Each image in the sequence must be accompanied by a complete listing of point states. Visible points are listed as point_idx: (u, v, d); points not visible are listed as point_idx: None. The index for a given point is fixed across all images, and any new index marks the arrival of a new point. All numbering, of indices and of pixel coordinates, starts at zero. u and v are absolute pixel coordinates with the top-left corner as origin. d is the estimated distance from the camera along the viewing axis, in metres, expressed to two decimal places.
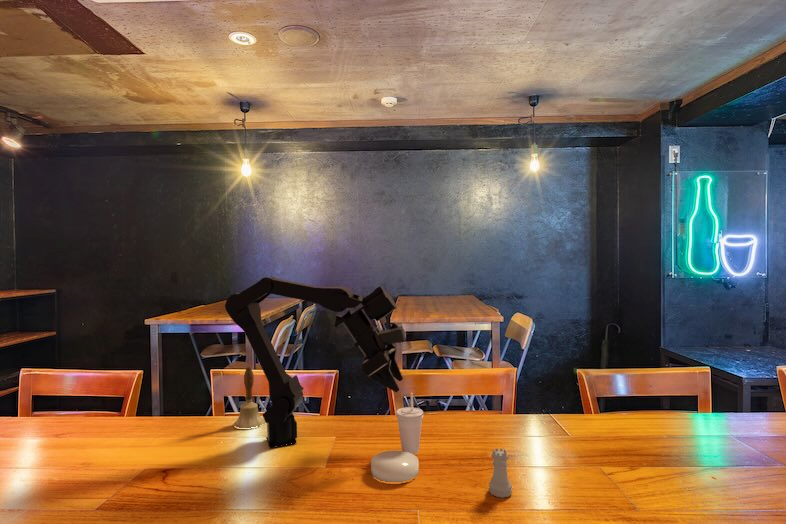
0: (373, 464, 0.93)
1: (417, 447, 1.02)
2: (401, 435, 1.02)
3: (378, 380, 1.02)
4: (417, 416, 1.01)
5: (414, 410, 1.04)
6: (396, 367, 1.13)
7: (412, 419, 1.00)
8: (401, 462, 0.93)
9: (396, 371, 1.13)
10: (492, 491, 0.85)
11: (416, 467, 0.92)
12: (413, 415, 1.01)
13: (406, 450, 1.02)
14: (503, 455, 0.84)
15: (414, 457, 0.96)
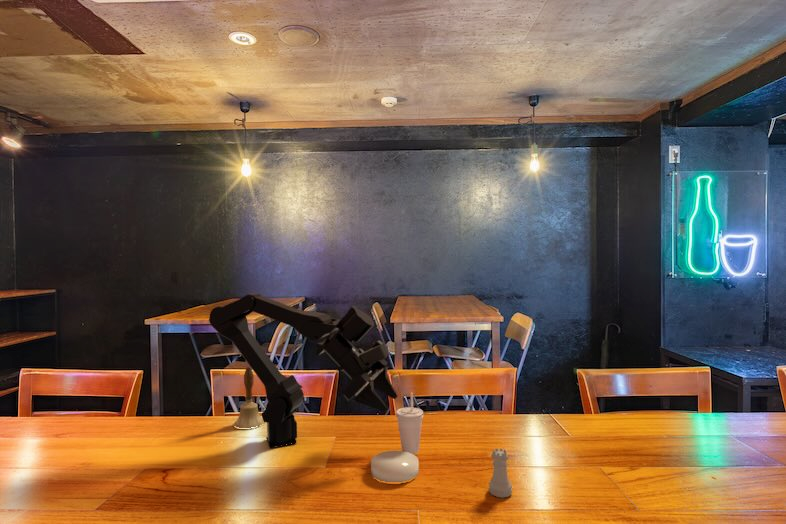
0: (373, 464, 0.93)
1: (417, 447, 1.02)
2: (401, 435, 1.02)
3: (363, 402, 1.00)
4: (417, 416, 1.01)
5: (414, 410, 1.04)
6: (388, 385, 1.09)
7: (412, 419, 1.00)
8: (401, 462, 0.93)
9: (389, 389, 1.09)
10: (492, 491, 0.85)
11: (416, 467, 0.92)
12: (413, 415, 1.01)
13: (406, 450, 1.02)
14: (503, 455, 0.84)
15: (414, 457, 0.96)
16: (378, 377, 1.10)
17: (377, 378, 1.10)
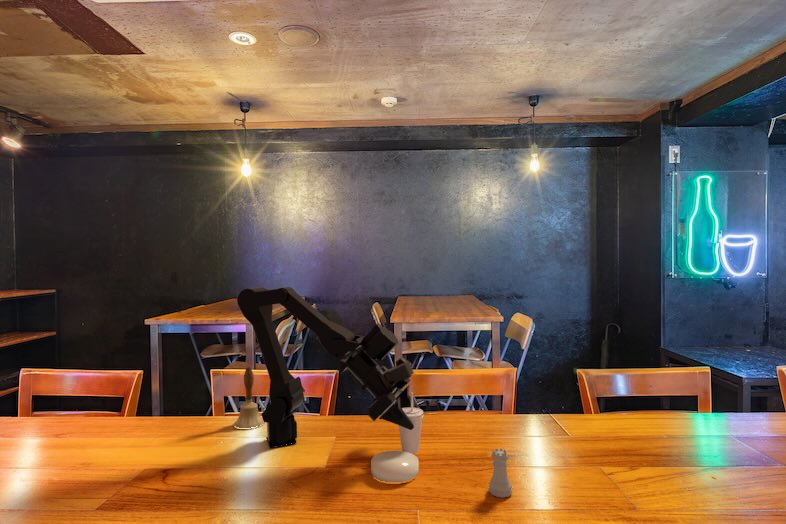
0: (373, 464, 0.93)
1: (417, 447, 1.02)
2: (401, 435, 1.02)
3: (390, 420, 0.99)
4: (417, 416, 1.01)
5: (414, 410, 1.04)
6: None
7: (412, 419, 1.00)
8: (401, 462, 0.93)
9: None
10: (492, 491, 0.85)
11: (416, 467, 0.92)
12: (413, 415, 1.01)
13: (406, 450, 1.02)
14: (503, 455, 0.84)
15: (414, 457, 0.96)
16: (399, 396, 1.08)
17: (399, 397, 1.08)
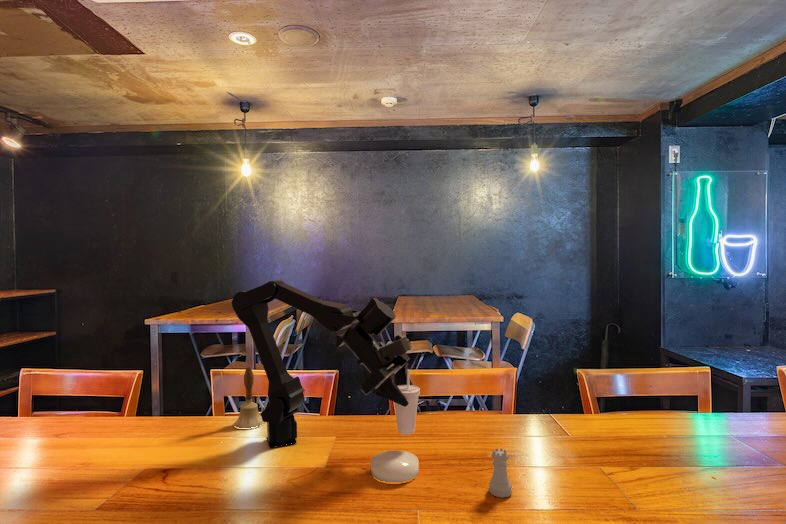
0: (373, 464, 0.93)
1: (413, 425, 0.99)
2: (396, 412, 1.00)
3: (384, 396, 0.97)
4: (412, 393, 0.98)
5: (410, 387, 1.01)
6: None
7: (407, 396, 0.97)
8: (401, 462, 0.93)
9: None
10: (492, 491, 0.85)
11: (416, 467, 0.92)
12: (408, 392, 0.98)
13: (401, 428, 0.99)
14: (503, 455, 0.84)
15: (414, 457, 0.96)
16: (397, 374, 1.05)
17: (397, 374, 1.05)
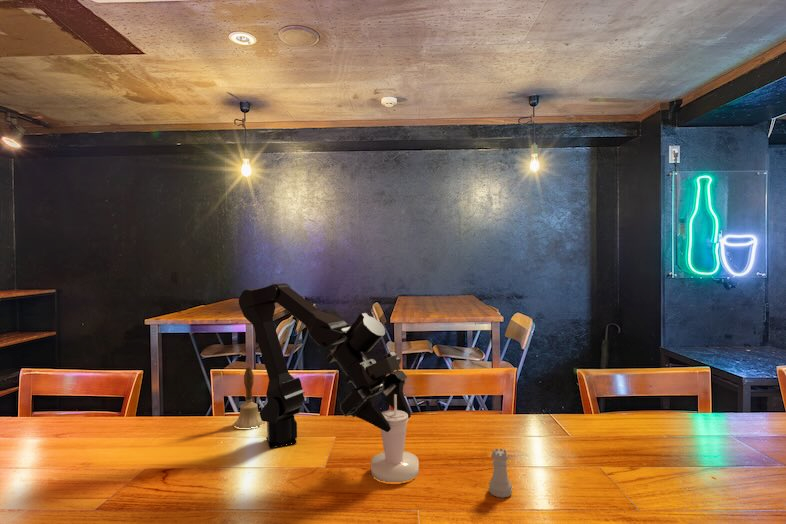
0: (373, 464, 0.93)
1: (399, 455, 0.93)
2: (382, 439, 0.94)
3: (365, 419, 0.91)
4: (397, 421, 0.91)
5: (398, 414, 0.94)
6: (402, 403, 0.98)
7: (391, 424, 0.91)
8: (401, 462, 0.93)
9: (402, 407, 0.98)
10: (492, 491, 0.85)
11: (416, 467, 0.92)
12: (393, 419, 0.92)
13: (387, 456, 0.93)
14: (503, 455, 0.84)
15: (414, 457, 0.96)
16: (391, 392, 1.00)
17: (391, 393, 1.00)
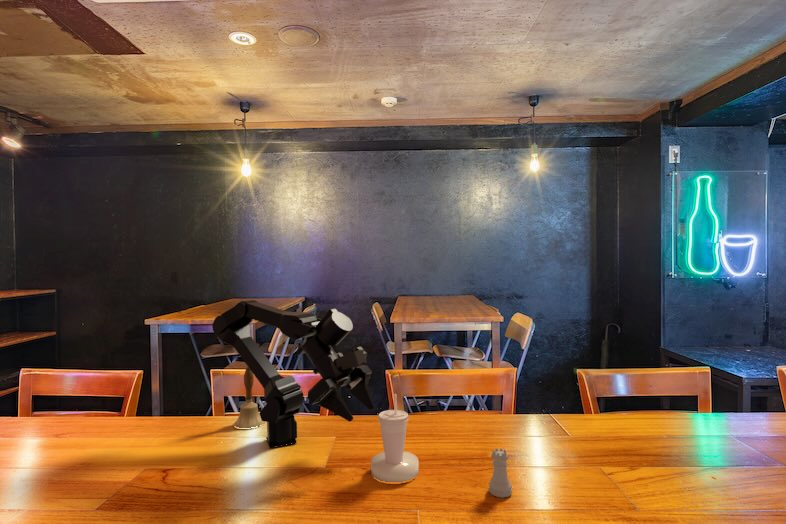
0: (373, 464, 0.93)
1: (399, 454, 0.93)
2: (382, 439, 0.94)
3: (329, 408, 0.96)
4: (397, 420, 0.92)
5: (398, 413, 0.94)
6: (366, 395, 1.04)
7: (391, 423, 0.91)
8: (401, 462, 0.93)
9: (367, 399, 1.04)
10: (492, 491, 0.85)
11: (416, 467, 0.92)
12: (393, 419, 0.92)
13: (387, 456, 0.93)
14: (503, 455, 0.84)
15: (414, 457, 0.96)
16: (357, 385, 1.06)
17: (357, 386, 1.06)
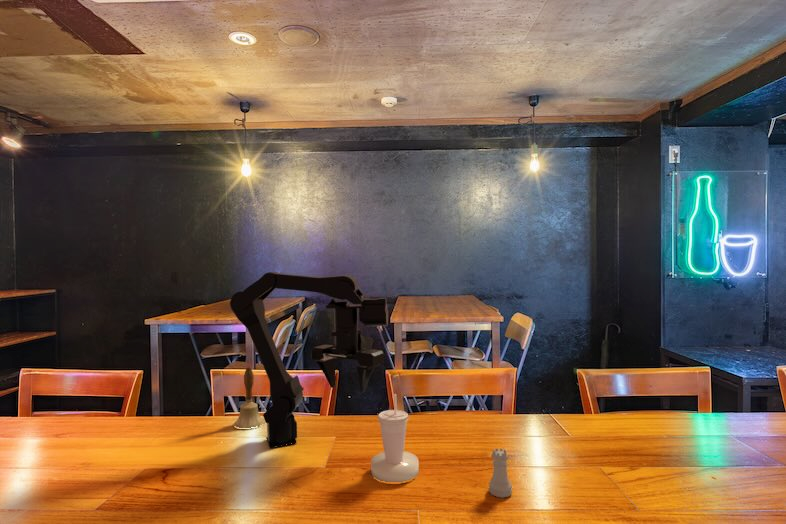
0: (373, 464, 0.93)
1: (399, 454, 0.93)
2: (382, 439, 0.94)
3: (363, 375, 1.05)
4: (397, 420, 0.92)
5: (398, 413, 0.94)
6: (334, 373, 1.13)
7: (391, 423, 0.91)
8: (401, 462, 0.93)
9: (332, 377, 1.12)
10: (492, 491, 0.85)
11: (416, 467, 0.92)
12: (393, 419, 0.92)
13: (387, 456, 0.93)
14: (503, 455, 0.84)
15: (414, 457, 0.96)
16: (331, 361, 1.12)
17: (330, 361, 1.12)
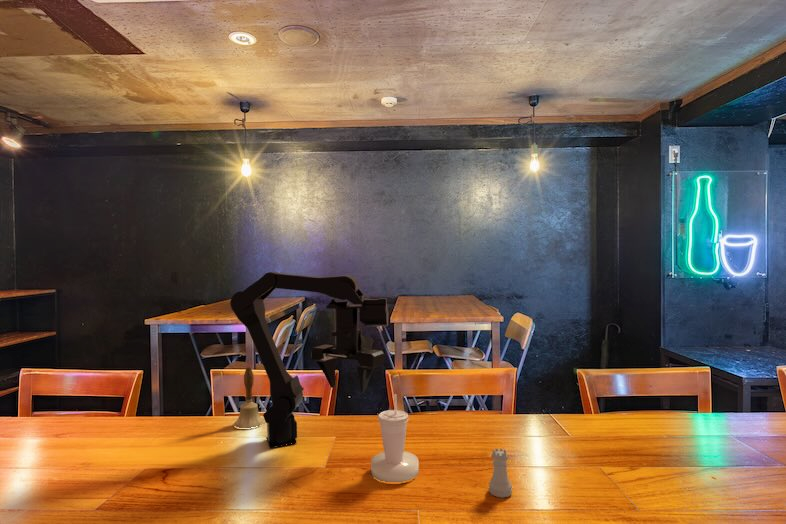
0: (373, 464, 0.93)
1: (399, 455, 0.93)
2: (382, 439, 0.94)
3: (363, 375, 1.05)
4: (397, 421, 0.91)
5: (398, 414, 0.94)
6: (334, 373, 1.13)
7: (391, 423, 0.91)
8: None
9: (332, 377, 1.12)
10: (492, 491, 0.85)
11: (416, 467, 0.92)
12: (393, 419, 0.92)
13: (387, 456, 0.93)
14: (503, 455, 0.84)
15: (414, 457, 0.96)
16: (331, 361, 1.13)
17: (330, 361, 1.12)
